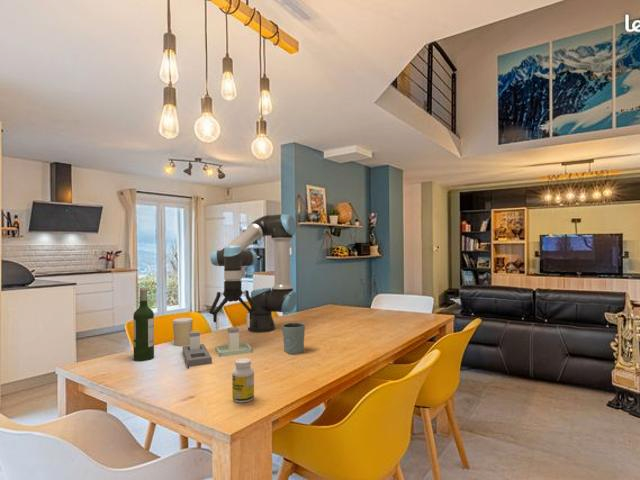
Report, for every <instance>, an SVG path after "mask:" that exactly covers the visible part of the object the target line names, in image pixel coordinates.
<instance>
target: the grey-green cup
mask: <svg viewBox="0 0 640 480" xmlns="http://www.w3.org/2000/svg"><path fill="white" fill-rule="evenodd" d="M281 327H282V329H281V330H282V337H283V352H284V353H285V354H287V355H290V356H291V355H293V356H295V355H301V354H303V353H304V351H305V344H304V343H305V342H304V341H305V333H306V332H305V330H306V324H305V323H303V322H287V323H286V322H285V323H283V324H282V326H281Z"/></svg>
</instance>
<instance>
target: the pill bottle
mask: <svg viewBox="0 0 640 480" xmlns="http://www.w3.org/2000/svg"><path fill="white" fill-rule="evenodd" d="M234 364H235V368H234V369H233V370H232V373H231V377H232V380H231V381H232V382H231V383H232V395H231V396H232V400H233V401H234V402H235V403H248V402H250V401H252V400H253V399H254V398H255V371H254V368H252V361H251V359H250V358H245V357H244V358H239V359H236V360H235V362H234Z"/></svg>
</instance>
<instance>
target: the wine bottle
mask: <svg viewBox="0 0 640 480" xmlns="http://www.w3.org/2000/svg"><path fill="white" fill-rule="evenodd" d="M147 291H148V288H147V287H146V286H145V287H140V289H139V306H138V308H137V309H136V310H134V313H133V316H132V317H133V319H132V320H133V321H132V322H133V323H132V324H133V327H132V328H133V361H134V362H135V361H136V362H146V361H150V360H152V359H154V358H155V320H154V319H155V317H154V316H155V314H154V310H152V309H151V308H150V307H149V306H148V305H149V304H148V292H147Z"/></svg>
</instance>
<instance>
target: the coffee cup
mask: <svg viewBox="0 0 640 480" xmlns="http://www.w3.org/2000/svg"><path fill="white" fill-rule="evenodd" d="M193 321H194V320H193V318H192V317H179V318H174V319H173V320H172V329H173V330H172V334H173V343H174V346H175V347H183V346H189V332H191V331H193Z"/></svg>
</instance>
